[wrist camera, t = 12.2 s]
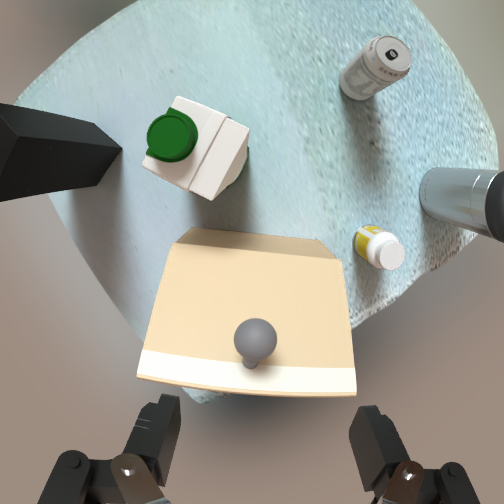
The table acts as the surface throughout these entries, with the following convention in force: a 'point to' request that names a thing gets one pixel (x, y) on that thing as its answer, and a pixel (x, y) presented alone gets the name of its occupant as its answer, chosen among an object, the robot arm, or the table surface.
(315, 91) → the table surface
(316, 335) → the flap
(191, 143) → the milk carton
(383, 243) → the supplement bottle
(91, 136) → the tall black box
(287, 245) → the carton
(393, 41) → the energy drink can
